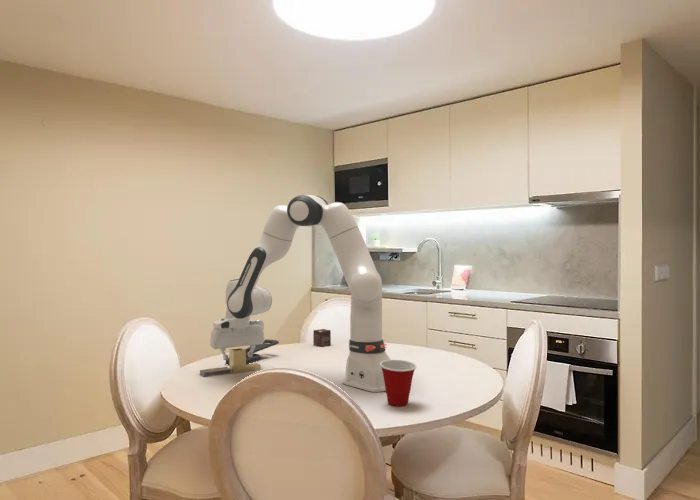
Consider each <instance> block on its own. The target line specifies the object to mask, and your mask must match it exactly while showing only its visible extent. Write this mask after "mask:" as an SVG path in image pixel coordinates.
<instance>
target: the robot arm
mask: <svg viewBox="0 0 700 500" xmlns="http://www.w3.org/2000/svg"><path fill="white" fill-rule="evenodd" d="M314 226H321V227H322V228H323V229H324V231H325V233H326V236H327V238H328V240H329V242H330V244H331V247H332V249H333V252H334V254H335V256H336V259H337V262H338V264H339V266H340V268H341V272H342V274H343V276H344V279H345V282H346V284H347V286H348V289H349V292H350V318H349V321H350V331H349V332H350V338H349V340H348V347H349V348H348V350H350V351H349V355H348V357H347V358H346V367H345V377H344V379H342V384H343V385H347V386H350V387H354V388H357V389H361V390H365V391H368V392H372V393H376V392H377V393H378V392H379V393H380V392H386V389H385V383H384V376H383V371H382V367H381V365H380V363H381V362H382V361H386V360H392V359H391V357H390V356H389V355H388V354H387V353H386V349H387V344H386V343H385V342H384V338H383V282H382V281H383V280H382V277H381V274H380V273H379V272H378V270H377V268H376V265H375V262H374V261H373V258H372V256H371V253H370V251H369V248H368V246H367V244H366V241H365V239H364V237H363V235H362V231H361V230H360V228H359V226H358V224H357V222H356V219H355V218H354V216H353V214H352V212H351V211H350V209H349V208H348V207H347V205H346V204H344V203H343V202H339V201H335V202H331V203H330V204H329V202H327V201H326V200H325V199H324V198H323V197H321V196H319V195H313V194H301V195H297V196H295V197H294V198H292V199H290V201H289V202H288V204H287V205H285V204H284V205H283V204H280V205H276V206H275V207H273V208H272V210H271V212H270V213H269V216H268V217H267V220H266V223H265V225H264V227H263V230H262V233H261V236H260V238H259V241H257V244H256V246H255V247H254V249H253V250H252V251H251V253H250V254H249V255H248V258H247V260H246V262H245V264H244V267H243V269H242V271H241V274H240V275H239V278H236V279H230V280H229V281H228V282H227V284H226V288H225V305H226V311H225V317H221V318H220V319H218V320H215V321H213V323H212V326H213V329H211V332H210V341H209V343H210V347H211V348H212V349H214V350H219V351H220V353H221V354H222V358H223V361H226V360H228V358H229V354H227V353H226V352H225V351H226V349H230V348H236V347H237V348H240V347H246V346H249V347H251V349H250V351H249V352H247V354H248V355H247V356H248V357H253V354H254V353H253V351H254V349H255V345H258V344H263V343H264V340H265V333H264V329H265V324H264V322H263V321H261V320H260V319H256V320H250V317H251V316H255V315H259V314H264V313H266V312H268V311H269V310H270V309H271V307H272V303H273V298H272V295H271V293H270V292H269V290H268V289H266V288H263V287H259V286H258V285H257V283H258V281H259V280H260V276H261V274H262V272H263V271H264V270H265V269H266V268H267V267H269V266H271V265H272V264H274V263H275V262H278V261H279V260H282V259H283V258H285V257H286V256H287V254H288V252H289V250H290V248H291V246H292V243H293V239H294V236H295V235H296V232H297V229H298V228H299V227H314Z"/></svg>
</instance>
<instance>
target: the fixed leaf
mask: <svg viewBox="0 0 700 500" xmlns="http://www.w3.org/2000/svg"><path fill="white" fill-rule="evenodd" d="M231 373H232V372H231V369H229V367H227V366H223V367H221V366H220V367H215V368H207V369H206V368H205V369H200V370H199V375H200V376H202V377H203V378H207V377H213V376H222V375H230V374H231Z"/></svg>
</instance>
